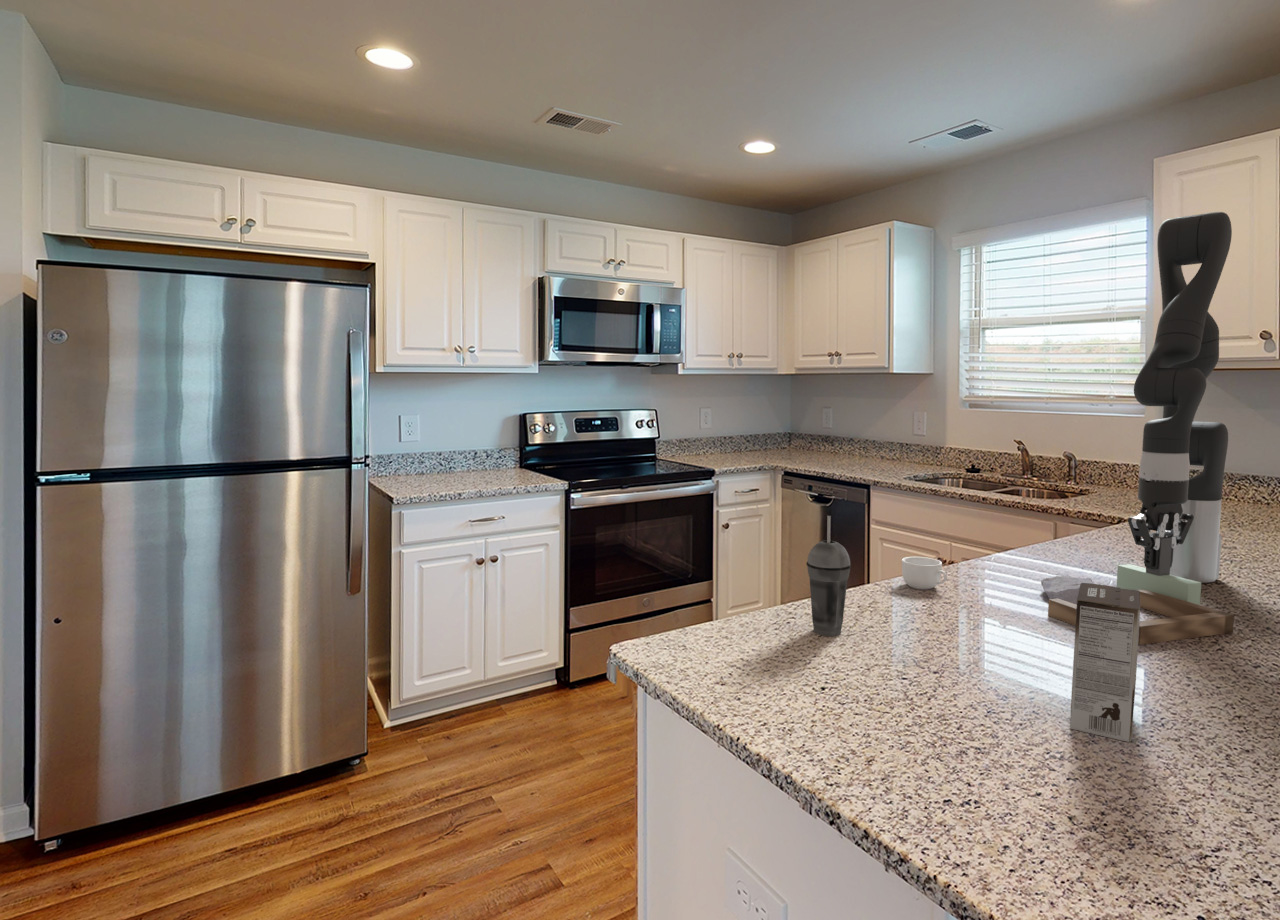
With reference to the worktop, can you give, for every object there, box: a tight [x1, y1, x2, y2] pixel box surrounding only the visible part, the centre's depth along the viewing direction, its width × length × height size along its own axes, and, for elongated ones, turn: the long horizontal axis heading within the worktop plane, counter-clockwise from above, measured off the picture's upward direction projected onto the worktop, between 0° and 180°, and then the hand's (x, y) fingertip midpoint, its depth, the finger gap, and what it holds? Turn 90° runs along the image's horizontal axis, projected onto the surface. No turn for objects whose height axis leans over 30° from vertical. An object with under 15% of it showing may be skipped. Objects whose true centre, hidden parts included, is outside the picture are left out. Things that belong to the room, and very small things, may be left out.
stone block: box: [1040, 575, 1102, 605], centre depth 140 cm, size 12×5×10 cm
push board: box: [1115, 536, 1202, 605], centre depth 136 cm, size 14×3×12 cm, turn 16°
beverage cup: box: [806, 515, 852, 637], centre depth 122 cm, size 7×7×20 cm
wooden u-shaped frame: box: [1047, 589, 1235, 646], centre depth 125 cm, size 22×16×3 cm
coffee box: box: [1069, 583, 1141, 743], centre depth 89 cm, size 9×6×16 cm
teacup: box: [901, 556, 948, 590], centre depth 149 cm, size 10×8×5 cm
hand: (1157, 567), depth 136 cm, fingers closed on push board, 2 cm apart
